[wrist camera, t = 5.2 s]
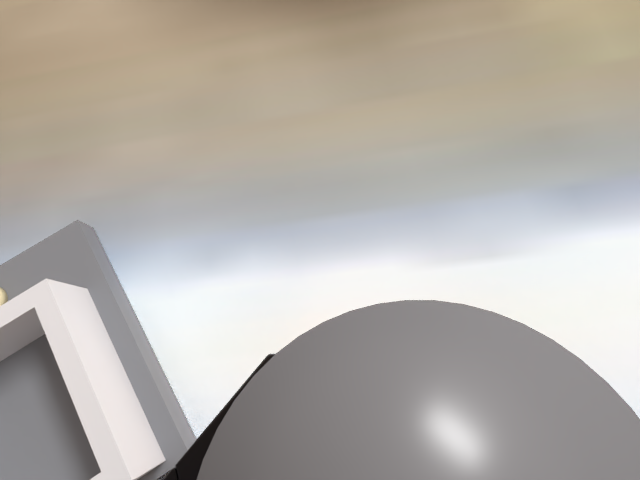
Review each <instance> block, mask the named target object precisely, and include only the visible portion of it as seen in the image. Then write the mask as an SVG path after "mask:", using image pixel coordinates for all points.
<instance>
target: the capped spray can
mask: <svg viewBox="0 0 640 480" xmlns="http://www.w3.org/2000/svg"><path fill="white" fill-rule="evenodd" d="M197 480H640V419H639V418H638V416H637V415H636V414H635V412H634V411H633V410H632V408H631V407H630V406H629V405H628V404H627V403H626V402H625V401H624V400H623V399H622V398H621V397H620V396H619V395H618V393H617V392H616V391H615V390H614V389H613V388H612V387H611V386H610V385H609V384H608V383H607V382H606V381H605V380H604V379H603V378H602V377H600V376H599V375H598V374H597V373H596V372H595V371H594V370H592V369H591V368H590V367H589V366H588V365H587V364H585V363H584V362H583V361H582V360H581V359H580V358H578V357H577V356H575V355H574V354H572V353H571V352H570V351H568V350H567V349H565V348H564V347H562V346H561V345H559V344H558V343H556V342H555V341H554V340H552V339H550V338H549V337H547V336H545V335H543V334H541V333H539V332H537V331H536V330H534V329H532V328H530V327H528V326H526V325H524V324H522V323H520V322H517V321H515V320H512V319H510V318H507V317H505V316H502V315H500V314H497V313H495V312H491V311H487V310H484V309H480V308H476V307H472V306H468V305H465V304H458V303H450V302H443V301H435V300H404V301H396V302H389V303H381V304H375V305H371V306H368V307H364V308H360V309H356V310H353V311H349V312H347V313H344V314H342V315H340V316H337V317H335V318H332V319H330V320H327V321H325V322H323V323H321V324H319V325H318V326H316V327H314V328H312V329H311V330H309V331H307V332H306V333H304V334H302V335H300V336H299V337H297V338H296V339H295V340H293V341H292V342H291V343H289V344H288V345H287V346H286V347H284V348H283V349H282V350H280V351H279V352H278V353H276V354H275V355H274V356H273V357H272V358H271V359H270V360H269V361H268V362H267V363H266V364H265V365H264V366H263V367H262V368H261V369H260V370H259V371H258V372H257V373H256V374H255V375H254V376H253V377H252V379H251V380H250V381H249V382H248V384H247V385H246V386H245V388H244V389H243V390H242V391H241V393H240V394H239V395H238V396H237V398H236V399H235V400H234V402H233V403H232V405H231V407H230V408H229V410H228V412H227V413H226V415H225V417H224V418H223V420H222V422H221V423H220V425H219V427H218V428H217V430H216V432H215V435H214V437H213V439H212V441H211V443H210V446H209V448H208V450H207V452H206V454H205V457H204V459H203V461H202V465H201V468H200V471H199V474H198V477H197Z"/></svg>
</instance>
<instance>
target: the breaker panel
mask: <svg viewBox="0 0 640 480" xmlns="http://www.w3.org/2000/svg"><path fill="white" fill-rule="evenodd" d="M196 440H197V439H196V437H195V435H194V433H193V431H192V429H191V427H190V425H189V423H188V421H187V419H186V417H185V415H184V413H183V411H182V409H181V407H180V405H179V403H178V401H177V398H176V396H175V394H174V392H173V390H172V388H171V386H170V384H169V382H168V380H167V378H166V376H165V374H164V372H163V370H162V368H161V366H160V364H159V362H158V360H157V357H156V355H155V353H154V351H153V349H152V347H151V345H150V343H149V341H148V339H147V337H146V335H145V333H144V331H143V329H142V327H141V325H140V323H139V321H138V318H137V316H136V314H135V312H134V310H133V308H132V306H131V304H130V302H129V300H128V298H127V296H126V294H125V292H124V290H123V288H122V286H121V284H120V282H119V280H118V277H117V275H116V273H115V271H114V269H113V267H112V265H111V263H110V261H109V259H108V257H107V255H106V253H105V251H104V249H103V247H102V245H101V243H100V241H99V239H98V236H97V234H96V232H95V230H94V228H93V227H91V226H89V225H87V224H85V223H83V222H81V221H79V220H76V221H75V222H73V223H71V224H70V225H68V226H66V227H65V228H63V229H61V230H60V231H58V232H56V233H54V234H53V235H51V236H49V237H48V238H46V239H44V240H43V241H41V242H39V243H37V244H36V245H34V246H32V247H31V248H29V249H27V250H26V251H24V252H22V253H20V254H19V255H17V256H15V257H14V258H12V259H10V260H9V261H7V262H5V263H3V264H2V265H0V480H157V479H158V478H160V477H161V476H162V475H164V474H165V473H167V472H168V471H170V470H171V469H172V468H174V467H175V465H176V464H177V462H178V461H179V460H180V459H181V458H182V456H183V455H184V454H185V453H186V452H187V451H188V449H189V448H190V447H191V446H192V445H193V443H194V442H195V441H196Z"/></svg>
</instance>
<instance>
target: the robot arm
mask: <svg viewBox="0 0 640 480" xmlns="http://www.w3.org/2000/svg"><path fill="white" fill-rule="evenodd" d="M274 355H275V354H269V355H268V356H267V357H266V358H265V359H264V360H263V361H262V363H261V364H260V365H259V366H258V367H257V368H256V370H255V371H254V372H253V373H252V374H251V376H250V377H249V378H248V379H247V380H246V382H245V383H244V384H243V385H242V386H241V388H240V389H239V390H238V391H237V392H236V393H235V395H234V396H233V397H232V398H231V399H230V401H229V402H228V403H227V404H226V405H225V407H224V408H223V409H222V410H221V411H220V412H219V414H218V415H217V416H216V417H215V418H214V420H213V421H212V422H211V423H210V424H209V426H208V427H207V428H206V429H205V430H204V431H203V433H202V434H201V435H200V436H199V437H198V439H197V440H196V441H195V442H194V443H193V445H192V446H191V447H190V448H189V449H188V451H187V452H186V453H185V454H184V455H183V456H182V458H181V459H180V460H179V461H178V462H177V464H176V465H175V468H176V469H175V468H172V469H171V470H170V472H169V473H168V474H167V475H166V476H165V478H164V479H163V480H197V477H198V474H199V471H200V468H201V465H202V461H203V459H204V457H205V454H206V452H207V450H208V448H209V446H210V443H211V441H212V439H213V437H214V435H215V432H216V430H217V428H218V427H219V425H220V423H221V422H222V420H223V418H224V417H225V415H226V413H227V412H228V410H229V408H230V407H231V405H232V403H233V402H234V400H235V399H236V398H237V396H238V395H239V394H240V393H241V391H242V390H243V389H244V388H245V386H246V385H247V384H248V382H249V381H250V380H251V379H252V377H253V376H254V375H255V374H256V373H257V372H258V371H259V370H260V369H261V368H262V367H263V366H264V365H265V364H266V363H267V362H268V361H269V360H270V359H271V358H272V357H273V356H274Z"/></svg>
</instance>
